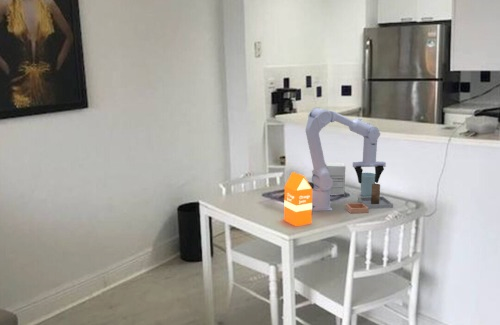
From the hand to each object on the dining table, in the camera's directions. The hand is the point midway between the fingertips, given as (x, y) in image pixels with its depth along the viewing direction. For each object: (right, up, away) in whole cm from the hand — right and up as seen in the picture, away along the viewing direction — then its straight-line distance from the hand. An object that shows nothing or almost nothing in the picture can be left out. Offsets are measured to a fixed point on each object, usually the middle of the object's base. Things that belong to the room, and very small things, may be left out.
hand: (368, 182), depth 233 cm
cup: (+3, -7, +17) cm, 19 cm away
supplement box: (-12, -6, +20) cm, 24 cm away
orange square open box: (-7, -12, -8) cm, 16 cm away
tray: (+3, -10, +1) cm, 11 cm away
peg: (+3, -10, +1) cm, 10 cm away
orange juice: (-33, -15, -21) cm, 42 cm away
